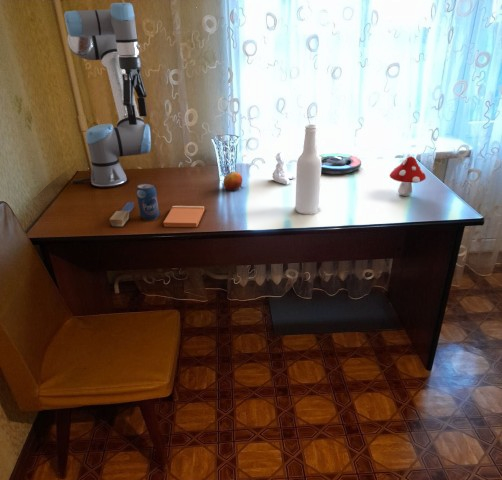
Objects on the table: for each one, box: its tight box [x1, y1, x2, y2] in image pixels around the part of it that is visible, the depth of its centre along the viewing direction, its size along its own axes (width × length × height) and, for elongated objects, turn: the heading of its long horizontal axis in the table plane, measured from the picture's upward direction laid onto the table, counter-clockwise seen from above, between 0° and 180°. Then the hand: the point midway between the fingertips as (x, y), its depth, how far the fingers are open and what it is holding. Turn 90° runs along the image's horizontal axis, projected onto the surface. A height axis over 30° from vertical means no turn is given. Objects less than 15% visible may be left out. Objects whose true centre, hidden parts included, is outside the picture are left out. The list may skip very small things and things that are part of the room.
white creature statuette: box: [271, 151, 294, 185], centre depth 205 cm, size 10×9×12 cm
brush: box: [109, 201, 135, 227], centre depth 179 cm, size 5×18×3 cm, turn 174°
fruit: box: [223, 171, 243, 192], centre depth 200 cm, size 8×8×8 cm
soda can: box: [135, 182, 160, 221], centre depth 175 cm, size 7×7×12 cm
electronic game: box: [318, 153, 362, 175], centre depth 221 cm, size 23×23×5 cm
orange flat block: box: [162, 205, 205, 228], centre depth 177 cm, size 12×16×2 cm
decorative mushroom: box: [389, 156, 427, 197], centre depth 188 cm, size 14×14×15 cm
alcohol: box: [295, 124, 322, 215], centre depth 173 cm, size 9×9×30 cm
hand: (138, 120), depth 182 cm, fingers open, 13 cm apart
